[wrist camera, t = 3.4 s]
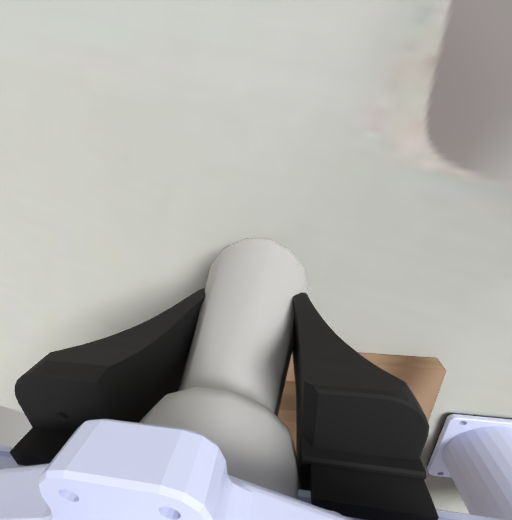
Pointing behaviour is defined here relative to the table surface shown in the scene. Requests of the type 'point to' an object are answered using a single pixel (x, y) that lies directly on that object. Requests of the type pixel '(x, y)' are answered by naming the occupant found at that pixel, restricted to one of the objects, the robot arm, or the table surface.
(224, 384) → the salt shaker
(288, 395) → the socket board
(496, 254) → the table surface
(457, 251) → the table surface
